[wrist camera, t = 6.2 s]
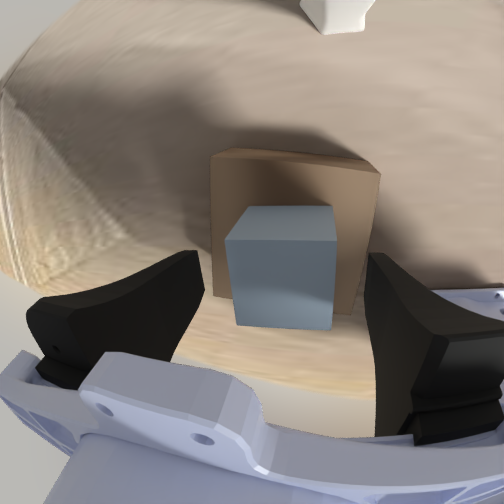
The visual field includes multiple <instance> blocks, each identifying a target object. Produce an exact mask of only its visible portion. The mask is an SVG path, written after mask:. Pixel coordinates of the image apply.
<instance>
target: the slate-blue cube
mask: <svg viewBox="0 0 504 504" xmlns="http://www.w3.org/2000/svg"><path fill="white" fill-rule="evenodd" d="M225 247H226V255H227V262H228V269H229V276H230V283H231V290H232V297H233V304H234V310H235V317H236V324H237V325H240V326H253V327H268V328H285V329H307V330H331V325H332V314H333V302H334V289H335V274H336V255H337V236H336V228H335V220H334V212H333V206H249V207H248V208H247V209H246V211H245V212H244V213H243V215H242V216H241V217H240V219H239V220H238V222H237V223H236V224H235V226H234V227H233V228H232V230H231V231H230V233H229V234H228V235H227V237H226V238H225Z"/></svg>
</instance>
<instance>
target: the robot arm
mask: <svg viewBox="0 0 504 504" xmlns="http://www.w3.org/2000/svg"><path fill="white" fill-rule="evenodd" d="M204 291H205V288H204V283H203V278H202V273H201V267H200V262H199V257H198V252H197V250H184V251H181V252H178V253H176V254H174V255H172V256H169V257H167V258H165V259H163V260H161V261H159V262H158V263H156V264H154V265H152V266H150V267H148V268H145V269H143V270H141V271H139V272H137V273H135V274H133V275H131V276H128V277H126V278H124V279H121V280H119V281H116V282H113V283H110V284H108V285H104V286H101V287H97V288H94V289H91V290H87V291H82V292H78V293H72V294H67V295H59V296H50V297H43V298H41V299H39V300H38V301H37V302H36V303H35V304H34V305H33V306H31V307H30V308H29V309H28V310H27V312H26V320H27V324H28V327H29V329H30V331H31V333H32V335H33V337H34V338H35V340H36V342H37V343H38V345H39V347H40V348H41V350H42V352H43V354H44V355H45V356H44V358H43V359H42V360H40V359H39V358H38V357H37V356H35V355H33V354H31V353H29V352H27V351H25V350H22V351H21V352H20V353H19V354H18V355H17V356H16V357H15V358H14V359H13V360H12V361H11V363H10V364H9V365H8V366H7V367H6V368H5V369H4V371H2V373H1V374H0V398H1V399H2V400H3V401H4V402H5V403H6V405H7V406H8V407H9V408H10V409H11V410H12V412H13V413H14V414H15V415H16V416H17V417H18V418H19V419H20V420H21V421H22V422H23V423H24V424H25V425H26V426H28V427H29V428H30V429H32V430H33V431H34V432H36V433H37V434H38V435H40V436H41V437H42V438H44V439H45V440H47V441H48V442H49V443H51V444H52V445H54V446H55V447H57V448H58V449H60V450H61V451H62V452H64V453H65V454H67V455H68V456H70V459H69V461H68V462H67V464H66V466H65V467H64V469H63V471H62V472H61V474H60V476H59V477H58V479H57V481H56V482H55V484H54V486H53V488H52V489H51V491H50V493H49V495H48V496H47V498H46V500H45V502H44V503H43V504H504V288H486V289H456V290H430V289H428V288H427V287H425V286H424V285H422V284H421V283H420V282H418V281H417V280H416V279H414V278H413V277H412V276H410V275H409V274H408V273H407V272H406V271H404V270H403V269H402V268H401V267H400V266H398V265H397V264H396V263H395V262H394V261H393V260H392V259H390V258H389V257H388V256H387V255H385V254H384V253H369V255H368V265H367V274H366V283H365V291H364V304H365V315H366V320H367V325H368V330H369V335H370V340H371V345H372V350H373V356H374V363H375V377H376V419H375V437H366V438H334V437H329V436H323V435H318V434H313V433H309V432H304V431H299V430H295V429H291V428H287V427H282V426H279V425H275V424H271V423H267V422H265V421H264V418H263V411H262V404H261V402H260V401H259V399H258V397H257V396H256V394H255V392H254V390H253V389H252V388H251V387H249V386H247V385H246V384H244V383H243V382H241V381H240V380H238V379H237V378H235V377H234V376H232V375H228V374H225V373H222V372H218V371H215V370H212V369H206V368H200V367H194V366H188V365H182V364H176V363H171V362H170V361H171V358H172V356H173V353H174V351H175V349H176V347H177V345H178V343H179V341H180V340H181V338H182V336H183V334H184V333H185V331H186V329H187V327H188V326H189V324H190V322H191V320H192V319H193V317H194V315H195V313H196V311H197V309H198V308H199V305H200V302H201V300H202V297H203V294H204ZM496 294H497V295H496ZM495 295H496V296H495Z"/></svg>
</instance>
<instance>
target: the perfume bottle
mask: <svg viewBox="0 0 504 504" xmlns="http://www.w3.org/2000/svg"><path fill="white" fill-rule="evenodd" d="M375 1H376V0H301V1H300V4H299V5H300V7H301V8H302V9H303V11H304V12H305V13H306V14H307V16H308V17H309V18H310V20H311V21H312V22H313V24H314V25H315V27H316V28H317V29H318V31H319V32H320V33H321V34H323V35H327V34H336V33H347V32H360V31H363V30H364V27H365V13H366V12H367V10H368V9H369V8H370V7H371V5H372V4H373V3H374V2H375Z"/></svg>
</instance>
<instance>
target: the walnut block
mask: <svg viewBox="0 0 504 504" xmlns="http://www.w3.org/2000/svg"><path fill="white" fill-rule="evenodd" d="M380 177H381V174H380V173H379V172H378V171H377V170H376V169H375V168H374V167H373V166H372V165H371V164H370V163H369V162H368V161H363V160H357V159H350V158H343V157H335V156H328V155H319V154H310V153H301V152H290V151H279V150H266V149H250V148H229V149H227V150H224V151H222V152H220V153H217V154H215V155H213V156H211V157H210V209H211V249H212V276H213V296H216V297H222V298H228V299H233V297H232V290H231V283H230V276H229V269H228V262H227V255H226V247H225V238H226V237H227V235H228V234H229V233H230V231H231V230H232V228H233V227H234V226H235V224H236V223H237V222H238V220H239V219H240V217H241V216H242V215H243V213H244V212H245V211H246V209H247V208H248V207H249V206H333V212H334V220H335V228H336V236H337V255H336V274H335V289H334V302H333V313H335V314H343V315H351V312H352V309H353V305H354V301H355V298H356V294H357V290H358V286H359V282H360V278H361V274H362V270H363V266H364V262H365V257H366V253H367V248H368V244H369V239H370V234H371V229H372V224H373V219H374V213H375V208H376V202H377V196H378V190H379V184H380Z"/></svg>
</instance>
